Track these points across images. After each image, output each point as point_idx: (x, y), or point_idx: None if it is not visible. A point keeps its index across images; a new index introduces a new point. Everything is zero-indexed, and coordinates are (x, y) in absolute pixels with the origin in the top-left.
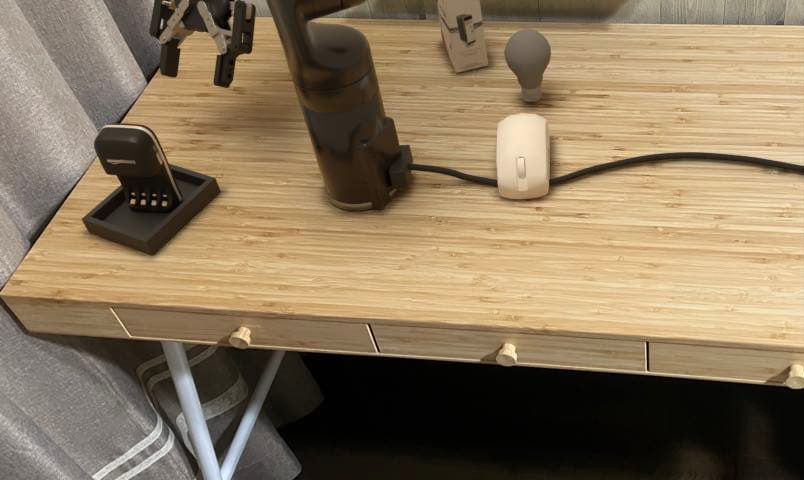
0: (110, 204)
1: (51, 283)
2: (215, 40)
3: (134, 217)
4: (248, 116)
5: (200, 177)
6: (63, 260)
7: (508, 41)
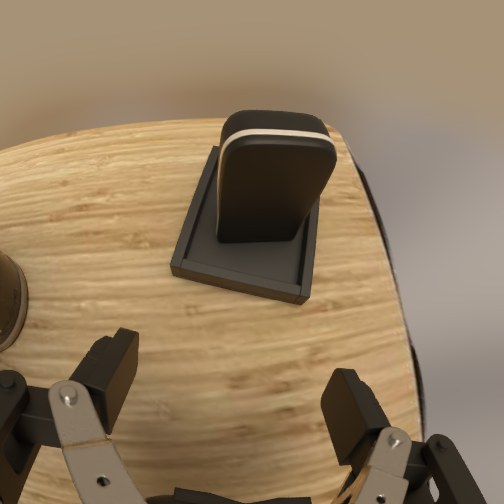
0: None
1: None
2: (99, 432)
3: None
4: (221, 468)
5: (196, 262)
6: None
7: None
